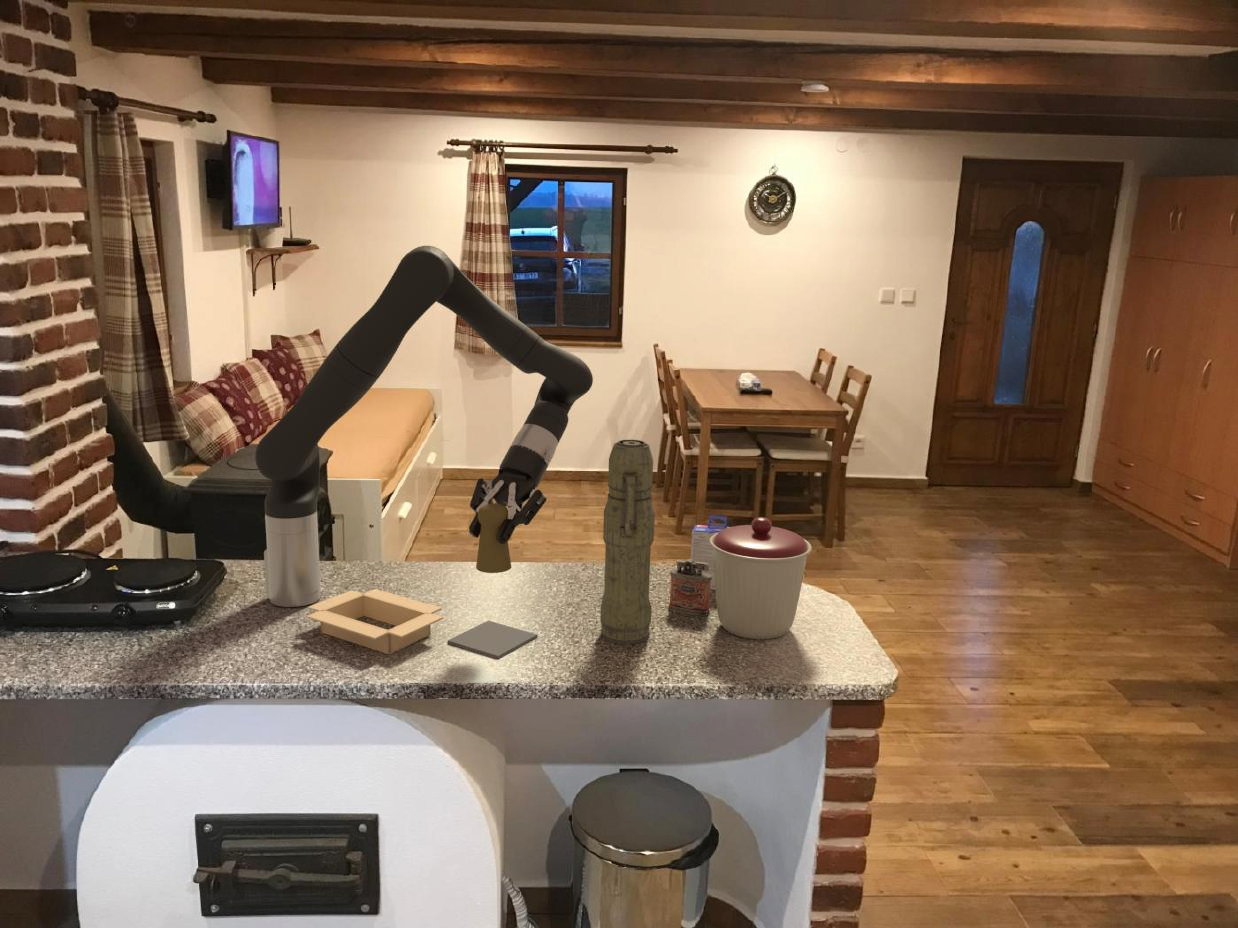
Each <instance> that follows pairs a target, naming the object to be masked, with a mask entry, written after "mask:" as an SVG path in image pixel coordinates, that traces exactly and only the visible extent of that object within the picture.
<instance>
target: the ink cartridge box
mask: <svg viewBox="0 0 1238 928" xmlns="http://www.w3.org/2000/svg"><path fill="white" fill-rule="evenodd" d="M714 520H720V521H723V523H720V522H713V521H714ZM727 520H728V516H723V515H713V514H711V515H709V519H708V525H702V524H695V525H694V527H693V529H692V531H691V541H690V542H691V543H690V559H692V560H694V562H703V563H708V564H709V568H708V571H704V570H702V572H703V573H707V574H710V575H712V580H711V581H710V590H712V591H715V574H714V557H713V548H712V546H711V545H710V538H711V537H712V536H713V535H714V534H716V533H718V532H720V531H722V530H724V529H726V528H730V527H731V526H730V527H729V526H727V525H728V521H727ZM696 571H697V569H696Z"/></svg>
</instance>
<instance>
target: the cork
mask: <svg viewBox="0 0 1238 928" xmlns="http://www.w3.org/2000/svg"><path fill="white" fill-rule="evenodd" d="M507 516H508V507H507V506H504V505H501V504H486V505H483V506H481V507H480V509H479V511H478V520H479V522H480V524H481V531H480V535H479V538H478V539H479V540H478V550H477V557H476V566H475V569H476V570H477V571H479V572H480V573H481V572H482V573H487V574H499V573H504V572H508V571H509V570H511V569H512V562H511V555H510V548H509V547H510V546H509V540H508V541H506V543H505V544H501V543H499V541H498V540H497V539H496V536H497V534H498V532H499V530H500V528H501V526H502V524H503V522H504V520H505V519H508V518H507Z"/></svg>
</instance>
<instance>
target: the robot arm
mask: <svg viewBox="0 0 1238 928" xmlns="http://www.w3.org/2000/svg"><path fill="white" fill-rule="evenodd" d="M435 303H437V304H439V305H442V306H443V307H445V308H446V309H448V310H449V311H451V312H452V313H454V314H455V315H456V316H457V317H459V318H460V319H461V320H463V321H464V322H465V323H466V324H467V325H468V326H469V327H470V328H471V329H472V330H473V331H474V332H476V333H477V335H479V336H480V338H481V339H482V340H483V341H484V342H485V343H486V344H487V345H488V346H489V347H490V348H491V349H493V350H494V351H495V352H496V353H497V354H499V355H500V356H501V357H502V358H503V359H505V360H506V361H507V362H508V363H510V364H512V365H513V366H514V367H515V368H517V369H518V370H519V371H521V372H522V373H524V374H528V375H532V374H539V375H540V376H543V377H544V379H543V382H542V383H541V386H540V388H539V390H538V393H537V396H536V398H535V402H534V405H533V407H532V409H531V410H530V412H529V414H528V415H527V418H526V420H525V421H524V423H523V425H522V427H521V428H520V429H519V431H518V432H517V434H516V435H515V437H514V438H513V441H512V443H511V444H510V446H509V448H508V449H507V452H506V453H505V455H504V458H503V459H502V461H501V463H500V465H499V469H498V474H497V475H496V476H495V477H494V478H493V479H492V480H487V481H486V480H484V478H481V477H480V478H479V479H477V482H476V485H475V487H474V490H473V493H472V497H471V501H470V504H469V507H470V508H471V510H472V511H473V512H474V513H475V515H474V517H473V519H472V521H471V522H470V525H469V526H468V530H469V531H468V532H469V535H471V536H472V537H473V538H478V539H479V538H480V531H481V524H480V522H479V520H478V511H479V509H480V507H481V506H483V505H486V504H501V505H504V506H505V507H507V509H508V516H507V518H508V519H505V520H504V522H503V524H502V526H501V528H500V530H499V532H498V534H497V536H496V539H497V540H498V541H499V543H501V544H505V543H506V541H508V542H509V541H510V539H511V538H512V536H513V533H514V532H515V529H516V527H518V526H519V525H524V526H528V525H530V523H531V522H532V521H533V519H534V518H535V516H536V515H537V514H538V512H539V511H540V510H541V508H543V506H544V504H546V502H547V500H548V499H547V496H545V494H544V493H543V491H541V489H537V488H538V487H539V485H540V483H541V482H542V479H543V477H544V475H545V473H546V471H547V469H548V467H549V465H550V464H551V462H552V459H553V458H554V456H555V453H556V450H557V447H558V445H559V443H560V441H561V439H562V438H563V435H564V433H565V431H566V428H567V427H568V424H569V415H568V414H569V412H570V411H571V409H572V406H574V404H575V403H576V401H577V400H579V399H580V398H582V396H584V395H586V394H587V393H588V392H589V391H590V390H591V388H592V386H593V384H594V383H593V382H594V376H593V373H592V371H591V369H590V367H589V366H588V365H587V364H586V363H585V361H584V360H582V359H581V358H580V357H578V356H577V355H575V354H573V353H571V352H569V351H567V350H565V349H563V348H562V347H560V346H557V345H555V344H553V343H550V342H548V341H546V340H545V339H544V338H542V337H541V336H540V335H539V334H537V333H536V332H535V331H534V330H533V329H531V328H529V327H528V326H527V325H526V324H525V323H523V322H522V321H520V320H519V319H518V318H516V317H515V316H514V315H513V314H512V313H510V312H509V311H508V310H506V309H504V308H503V307H502V306H501V305H500V304H498V303H497V302H495V301H494V300H493V299H492V298H491V297H489V296H488V295H487V294H486V293H484V292H483V291H482V290H481V289H480V288H479V287H478V286H477V285H476V284H475V283H473V281H471V280H470V278H468V276H466V275H465V273H464V272H463V271H462V270H461V269H460V268H459V267H458V266H457V265H456V264H455V262H454V261H453V260H452V259H451V258H450V257H449V256H448V255H447V254H446V252H445V251H444V250H442V249H440V248H438V247H436V246H434V245H433V246H432V245H421V246H420V245H419V246H417V247H415V248H413V249H412V250H410V251H409V252H407V253H406V254H405V255H404V256H403V257H402V258H401V260H400V261H399V263H398V264H397V267H396V269H395V270H394V272H393V274H392V275H391V276H390V279H389V281H388V283H387V284H386V286H385V287H384V289H383V290H382V292H381V294H380V295H379V297H378V298H377V300H376V301H375V302H374V303H373V305H371V307H370V308H369V309H368V311H366V312H365V313H364V314H363V315H362V316H361V317H360V318H359V319H358V320H357V321H356V322H355V323H354V324H353V325H352V326H351V327H350V328H349V330H348V331H347V332H345V334H344V335H343V336H342V337H341V339H339V341H338V342H337V344H335V346H334V347H333V348H332V350H331V351H330V352H329V354H328V355H326V358H325V359H324V360H323V362H322V363H321V365H320V366H319V367H318V369H317V370H316V372H315V373H314V375H313V377H312V378H311V379H310V381H308V383H307V385H306V386H305V388H304V389H303V390H302V393H301V394H300V396H299V397H298V398H297V400H296V402H294V404H293V405H292V406H291V408H290V409H289V410H288V411H287V412H286V413H285V415H283V417H282V418H281V419H280V420H279V421H278V422H276V424H275V425H274V426H273V427H272V428H271V429H270V430H268V432H267V433H266V434H264V436H262V437H261V438H260V440H259V442H258V444H257V446H256V449H255V454H254V455H255V457H254V458H255V459H254V460H255V465H256V467H257V470H258V471H259V473H261V475H262V476H263V477H265V478H266V479H267V480H270V484H269V488H268V492H267V494H266V496H265V499H264V514H265V515H264V521H265V533H266V535H265V536H266V549H265V550H264V552H263V558H264V559H263V560H264V562H263V563H264V575H265V576H264V579H265V594H266V595H265V596H266V599H268V600H269V603H271V604H272V605H273V606H277V607H282V608H283V607H284V608H295V607H296V608H298V607H304V606H308V605H309V606H310V605H311V604H312V605H313V604H314V603H316V602H318V601H319V600H320V599H321V573H320V572H321V571H320V570H321V569H320V549H319V530H318V529H319V525H318V499H319V495H320V489H321V487H320V486H321V482H320V481H321V480H320V479H321V478H320V477H321V475H320V473H321V472H320V471H321V469H320V460H321V459H320V448H319V442H320V441H321V439H322V438H323V436H325V434H326V433H327V432H328V430H329V429H330V428H331V427H333V425H334V424H336V423H337V422H338V421H339V419H341V418H343V417H344V416H345V414H347V413H348V412H349V411H350V410H351V409H352V408H353V407H354V406H355V405H357V403H359V401H360V400H361V399H362V398H363V397H364V396H365V395H366V394H367V393H368V392H369V391H370V390H371V388H372V387H373V386H374V384H375V383H376V382H377V381H378V379H380V377H381V376H382V374H383V373H384V371H385V370H386V369H387V367H388V365H389V364H390V363H391V361H392V359H393V358H394V356H395V354H396V353H397V352H398V349H399V347H400V346H401V343H402V342H403V340H404V338H405V336H406V334H408V332H409V331H410V330H411V329H412V327H413V326H414V325H415V324H416V322H418V321H419V319H421V317H422V316H423V315H424V314H425V313H426V312H427V311H428V310H429V309H430V308H431V307H432V306H433V305H435ZM494 501H495V502H494ZM525 502H526V503H525Z"/></svg>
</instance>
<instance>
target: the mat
mask: <svg viewBox="0 0 1238 928" xmlns="http://www.w3.org/2000/svg"><path fill="white" fill-rule="evenodd" d="M536 638H538V634H537V633H533V632H529V631H527V630H523V629H519V628H517V627H512V626H509V625H506V624H502V623H498V622H495V621H492V620H485V621H484V622H482V623H480V624H478V625H476V626H474V627H472V628H470V629H468V630H466V631H464V632H462V633H460V634H458V635H456V636H454V637H452V638H450V639H448V640H447V644H450V645H453V646H456V647H458V648H459V647H460V648H462V649H465V650H468V651H471V652H472V651H473V652H476V653H479V654H482V655H485V656H489V657H491V658H495V659H498V660H499V659H500V658H503V657H504V656H506V655H508V654H509V653H511V652H513V651H516V649H519V648H520V647H523V646H524V645H526V644H528V643H530V642H531V641H533V640H535V639H536Z"/></svg>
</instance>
